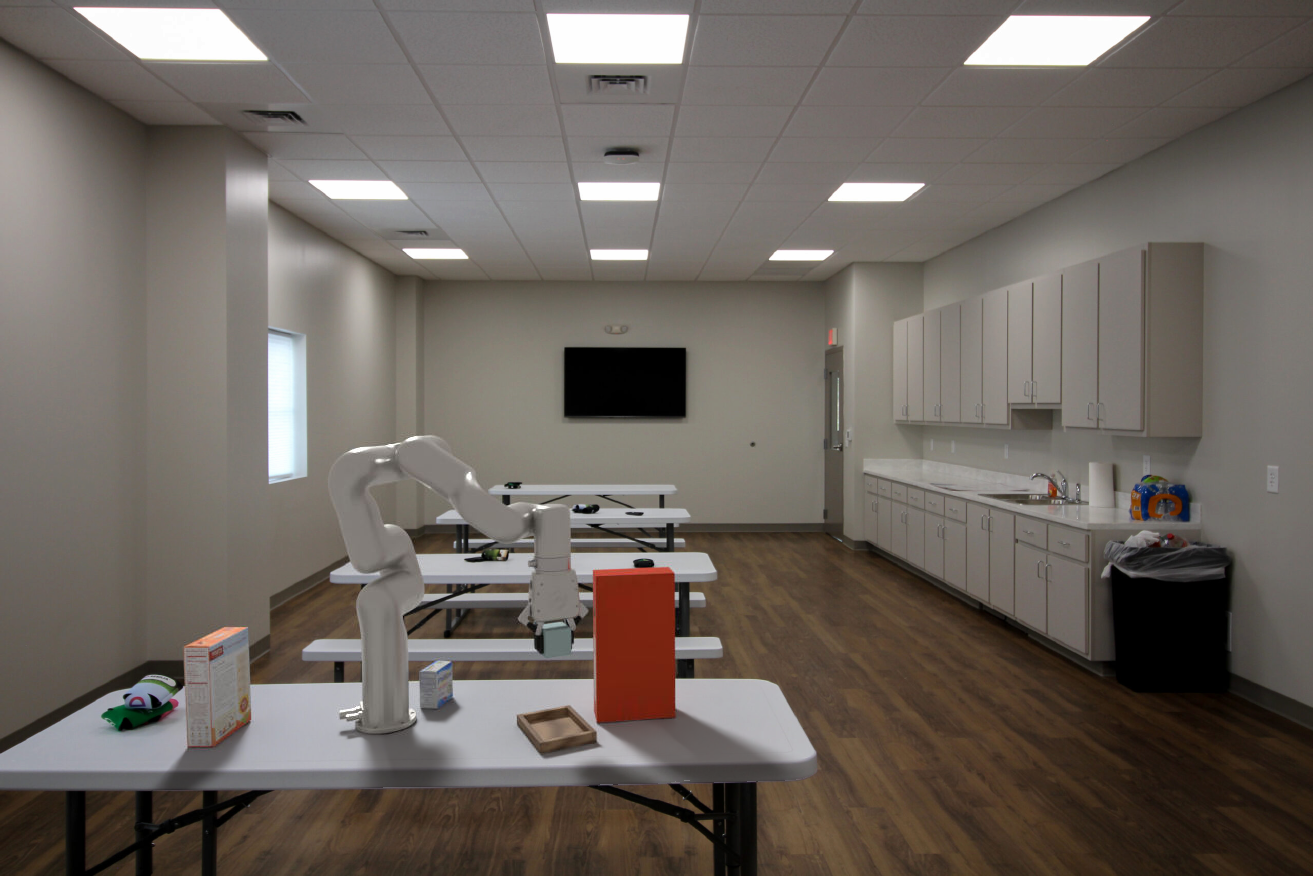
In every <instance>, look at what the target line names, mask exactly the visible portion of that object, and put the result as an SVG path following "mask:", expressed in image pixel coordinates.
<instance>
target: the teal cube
mask: <svg viewBox="0 0 1313 876" xmlns="http://www.w3.org/2000/svg"><path fill="white" fill-rule="evenodd" d="M542 635H543V636H544V653H543V654H541V656H542V657H544V658H545V659H551V658H557V657H564V656H569V655H572V649H571V628H570V627H569V626H567V625H566V623H565V622H563V621H557V622H549V623H544V625H543V629H542Z"/></svg>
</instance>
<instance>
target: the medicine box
mask: <svg viewBox="0 0 1313 876" xmlns="http://www.w3.org/2000/svg"><path fill="white" fill-rule="evenodd" d="M418 673H419V674H418V676H419V678H418V679H419V680H418V681H419V682H418V683H419V708H421V709H429V710H430V709H431V710H438V709H439V708H441V707H442V706H443V705H444V704H446V703H447V702H448V701H449V700H451V699H452V698H453V696H454V693H453V692H454V689H453V688H454V687H453V685H454V683H453V661H451V660H450V661H449V660H435V661H434V662H432V663H431V664H429V665H428V666H426V667H424V668H423V669H421V670H420V671H418Z"/></svg>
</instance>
